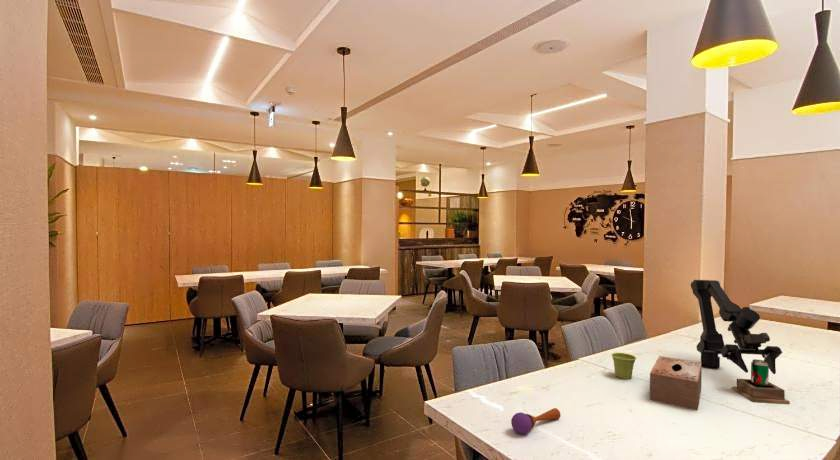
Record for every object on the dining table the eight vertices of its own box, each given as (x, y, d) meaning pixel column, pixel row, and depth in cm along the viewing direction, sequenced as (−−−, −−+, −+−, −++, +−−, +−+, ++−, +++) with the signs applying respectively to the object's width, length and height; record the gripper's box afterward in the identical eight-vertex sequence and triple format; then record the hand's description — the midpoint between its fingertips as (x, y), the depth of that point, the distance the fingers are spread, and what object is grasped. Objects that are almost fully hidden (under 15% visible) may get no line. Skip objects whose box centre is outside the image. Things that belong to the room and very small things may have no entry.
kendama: (565, 409, 133) (524, 421, 121) (561, 427, 133) (520, 440, 122) (550, 400, 138) (509, 410, 126) (546, 416, 138) (505, 428, 127)
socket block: (732, 389, 161) (732, 377, 161) (766, 391, 159) (766, 379, 159) (752, 401, 149) (752, 389, 149) (789, 404, 147) (789, 391, 147)
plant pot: (635, 374, 176) (635, 354, 176) (636, 382, 168) (636, 360, 168) (611, 371, 180) (611, 351, 180) (611, 378, 172) (611, 357, 172)
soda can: (769, 397, 151) (769, 364, 151) (751, 394, 153) (752, 361, 153) (767, 392, 155) (767, 360, 155) (749, 389, 158) (750, 358, 158)
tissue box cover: (697, 411, 142) (697, 381, 142) (649, 400, 150) (650, 373, 150) (701, 388, 162) (701, 362, 162) (659, 379, 171) (659, 355, 171)
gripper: (725, 323, 160) (742, 361, 149) (779, 325, 157) (801, 363, 146) (713, 338, 168) (729, 375, 157) (764, 340, 165) (784, 378, 154)
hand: (760, 372), depth 153 cm, fingers open, 9 cm apart
